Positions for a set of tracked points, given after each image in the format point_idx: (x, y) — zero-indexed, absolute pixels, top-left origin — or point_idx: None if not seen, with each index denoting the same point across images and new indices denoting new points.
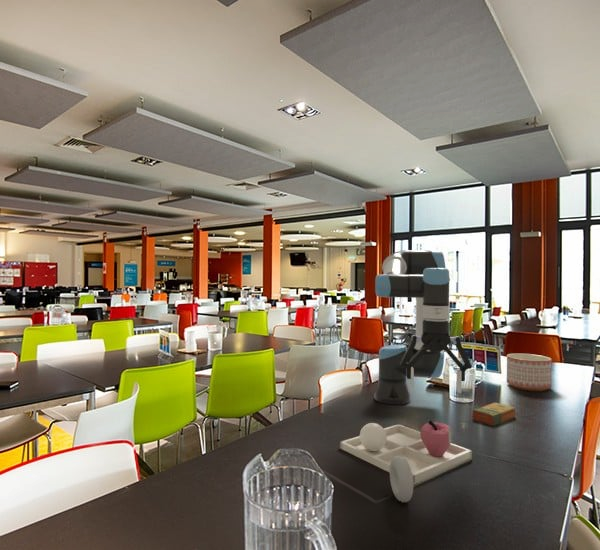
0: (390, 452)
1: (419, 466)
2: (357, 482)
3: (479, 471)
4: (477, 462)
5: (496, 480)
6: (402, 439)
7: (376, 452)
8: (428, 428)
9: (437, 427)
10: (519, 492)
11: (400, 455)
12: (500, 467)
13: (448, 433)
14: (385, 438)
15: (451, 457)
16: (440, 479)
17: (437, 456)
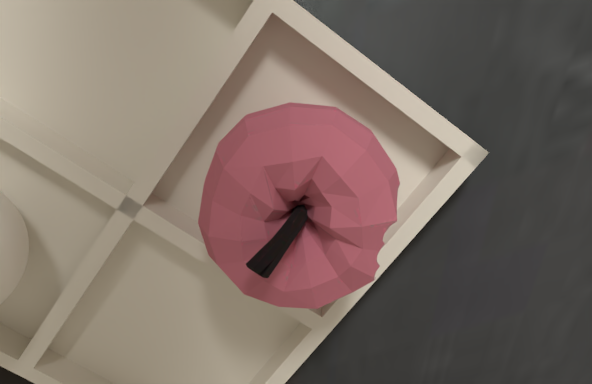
0: (78, 300)
1: (224, 317)
2: None
3: (477, 260)
4: (491, 169)
5: (525, 317)
6: (94, 2)
7: None
8: (247, 257)
9: (308, 190)
10: (579, 379)
11: (127, 236)
12: (586, 191)
13: (373, 280)
14: (14, 276)
15: None
16: (309, 370)
17: None
